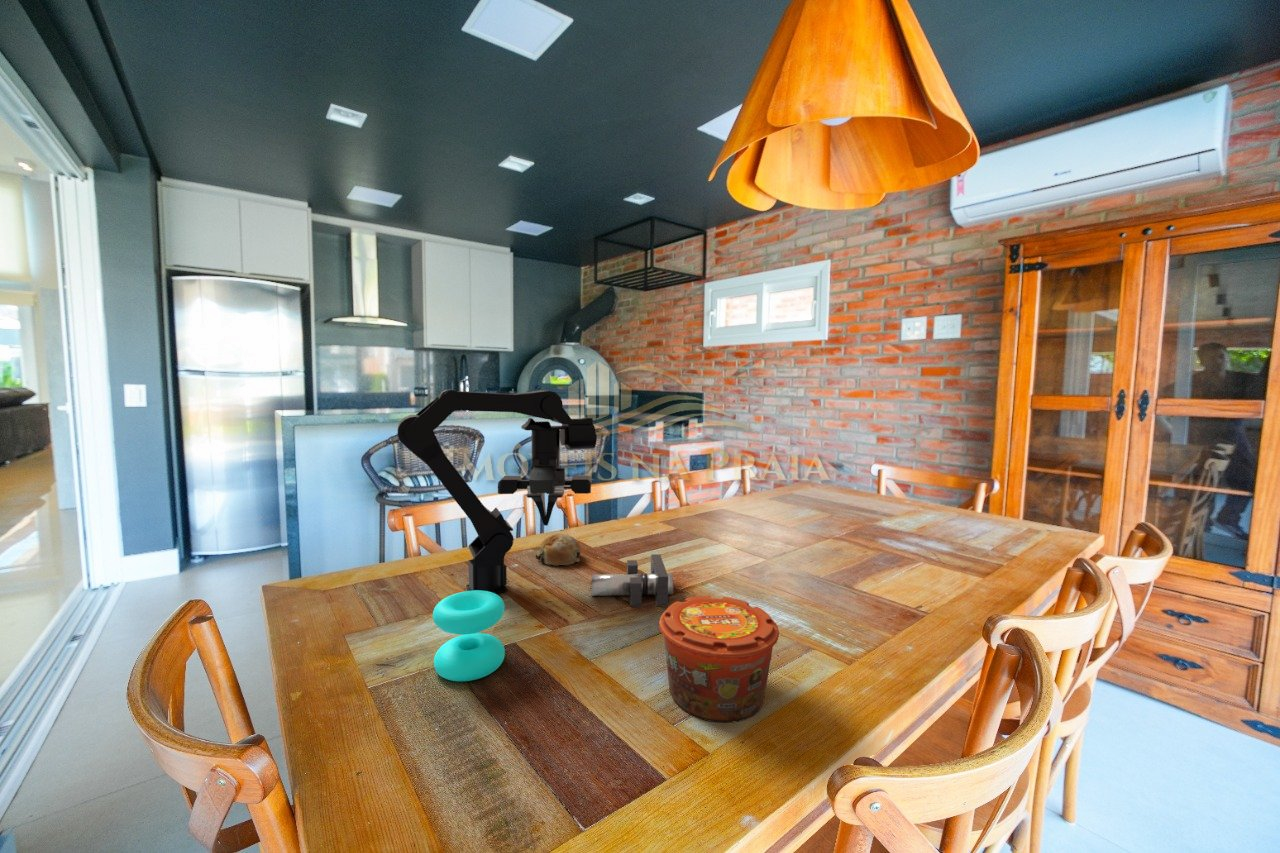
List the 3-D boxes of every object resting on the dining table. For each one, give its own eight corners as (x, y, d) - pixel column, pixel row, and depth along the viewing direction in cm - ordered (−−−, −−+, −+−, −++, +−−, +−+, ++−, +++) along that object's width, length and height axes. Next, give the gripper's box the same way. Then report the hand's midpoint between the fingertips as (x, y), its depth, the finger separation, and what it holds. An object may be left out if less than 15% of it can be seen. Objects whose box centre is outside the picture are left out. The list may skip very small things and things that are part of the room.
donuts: (492, 617, 70) (420, 615, 71) (493, 687, 71) (421, 684, 72) (512, 588, 80) (449, 586, 81) (512, 649, 81) (450, 647, 82)
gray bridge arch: (657, 606, 97) (657, 576, 97) (650, 580, 110) (650, 554, 109) (667, 605, 98) (668, 576, 97) (659, 580, 110) (660, 554, 110)
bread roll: (569, 583, 117) (584, 552, 117) (528, 563, 117) (543, 532, 116) (575, 567, 127) (589, 539, 127) (537, 549, 127) (551, 520, 126)
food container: (693, 746, 60) (696, 658, 59) (639, 674, 75) (640, 603, 74) (802, 713, 67) (805, 633, 66) (732, 652, 81) (734, 586, 80)
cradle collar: (630, 606, 97) (631, 583, 97) (627, 581, 109) (627, 560, 109) (641, 606, 97) (641, 583, 97) (636, 580, 110) (636, 560, 109)
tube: (591, 600, 101) (591, 584, 99) (591, 586, 105) (591, 570, 103) (672, 598, 102) (673, 582, 101) (670, 585, 106) (671, 569, 104)
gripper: (491, 456, 98) (492, 537, 99) (590, 457, 99) (590, 536, 101) (502, 449, 109) (503, 521, 110) (591, 449, 110) (590, 520, 112)
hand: (545, 525), depth 108 cm, fingers closed
